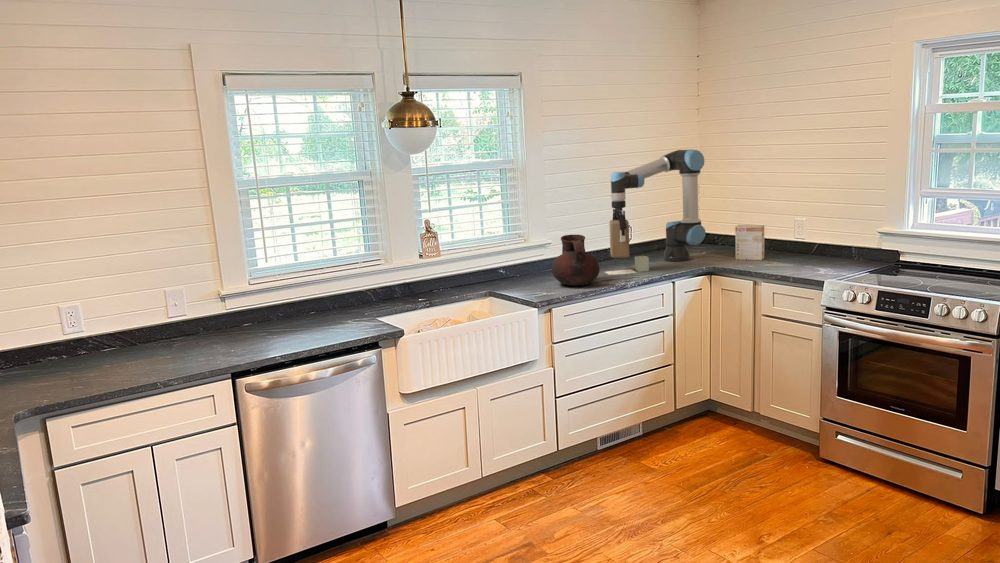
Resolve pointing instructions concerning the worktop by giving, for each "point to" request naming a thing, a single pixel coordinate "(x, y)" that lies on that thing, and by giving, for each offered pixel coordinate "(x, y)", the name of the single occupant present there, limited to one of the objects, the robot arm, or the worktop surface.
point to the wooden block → (618, 240)
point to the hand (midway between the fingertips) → (619, 240)
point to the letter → (621, 272)
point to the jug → (574, 263)
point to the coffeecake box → (749, 242)
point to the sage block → (641, 263)
